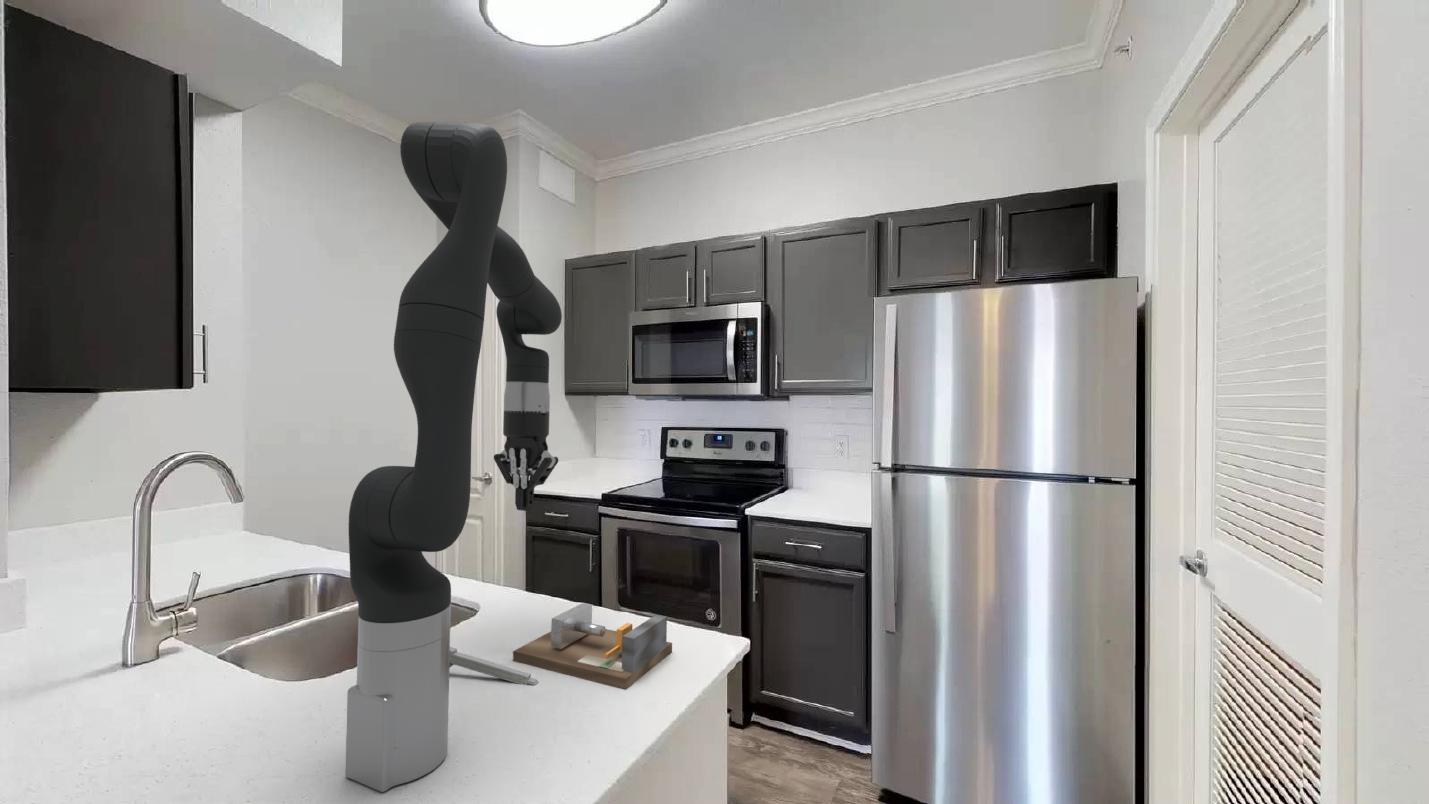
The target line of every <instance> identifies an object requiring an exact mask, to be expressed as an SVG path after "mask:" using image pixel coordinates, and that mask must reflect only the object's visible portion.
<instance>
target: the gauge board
mask: <svg viewBox="0 0 1429 804" xmlns="http://www.w3.org/2000/svg"><path fill="white" fill-rule="evenodd" d="M667 620H668V617H667V615H666V616H665V615H661V614H654V615H653V616H652V617H650V618H648V619H647V620H646V621H644V622H643V623H640V625H638V626H635V628H632V630H631V631H630V632H628V633H627V634H625V635H624V636H622V650H619V651H617V652H616V653H615V654H613V655H612V656H610V657H609V658H607V659H606V658H605V654H606V653H607V652H609V651H610V650H612V649H613V648H615V647H616V636H617V630H613V629H607V628H605V634H604V635H603V636H602V637H600V636H596V635H591V634H586V635H584V636H583V637H581V638H579V639H578V640H576V641H574V642H572V643H571V644H569V645H567V646H565V647H564V648H562V649H559V648H555V647H551V631H549V632H547V633H545V634H543V635H541V636H539V637H537V638H535V639H533V640H531V641H529V642H527V643H526V644H524V645H522V646H520V647H518V648H517V649H514V650H513V651H512V661H514V662H517V663H521V664H525V665H529V666H533V667H537V668H541V669H544V670H548V671H552V672H557V673H560V674H563V675H569V676H571V677H572V676H573V677H576V678H580V679H584V680H586V681H587V680H588V681H592V682H594V683H600V684H604V685H606V686H607V685H608V686H610V687H611V686H612V687H616V688H620V689H623V690H627V689H628V688H629V687H631V686H632V685H633V684H634V683H636V682H637V681H638V680H639V679H641V678H642V677H643V676H644V675H645V674H647V673H648V672H650V671H651V669H653V668H654V667H655V666H657V665H658V664H659V663H660V662H661V661H662V660H664V659H665V658H666V657H668V656H669V655H670V654H672V653H673V643H672V642H670V641H667V634H668V633H667V632H668V631H667V629H668V628H667V626H668V625H667V624H668V621H667Z"/></svg>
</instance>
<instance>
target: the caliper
mask: <svg viewBox="0 0 1429 804" xmlns="http://www.w3.org/2000/svg"><path fill="white" fill-rule="evenodd" d="M453 666H457V667H460V668H461V667H462V668H463V669H464V668H465V669H468V670H471V671H474V672H478V673H481V674H485V675H487V676H491V677H494V678H497V679H500V680H503V681H505V682H509V683H514V684H516V685H531V686H536V685H537V684H538V683H539V680H538V679H537V678H534V677H532V674H531V673H530V672H526V671H524V670H523V671H522V670H520V669H517V668H513V667H509V666H507V665H502V664H500V663H495V662H493V661H489V660H486V659H482V658H480V657H476V656H473V655H469V654H466V653H463V652H461V651H460V652H459V651H458V648H455V647H452V646H450V659H449V669H450V668H452V667H453Z"/></svg>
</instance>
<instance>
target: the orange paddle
mask: <svg viewBox="0 0 1429 804" xmlns="http://www.w3.org/2000/svg"><path fill="white" fill-rule="evenodd" d="M631 630H633V623H630V622H626V623H624V624H622V625H621V626H620V627H617V629H616V631H617V636H616V647H615V648H613V649H612V650H610V651H609V652H607V653H606V654H605V658H606V659H607V658H609V657H610V656H612V655H613V654H615V653H616V652H617V651H619V650H622V636H624V635H625V634H627V633H628V632H630V631H631Z"/></svg>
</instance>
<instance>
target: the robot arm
mask: <svg viewBox="0 0 1429 804" xmlns="http://www.w3.org/2000/svg"><path fill="white" fill-rule="evenodd" d="M399 150H400V152H399V153H400V159H401V160H400V161H401V164H402V168H403V170H404V173H405V176H406V177H407V179H408V181H409V184H410V185H411V186H412V188H413V190H415V192H416V193H417V195H418V196H419V197H420V199H421V200H422V201H423V202H424V203H425V204H426V206H427V207H428V208H429V209H430V211H431V212H432V213H433V214H434V215H435V216H436V217H437V219H438V220H439V221H440V222H441V223H442V225H443V226H444V227H445V228H446V229H447V230H448V231H447V232H446V233H445V235H444V237H443V238H442V239H441V241H440V242H439V243H438V245H437V246H436V247H435V249H434V250H433V251H432V252H430V254H429V255H428V256H427V257H426V258H425V260H424V261H422V262H421V264H420V265H419V266H418V268H416V270H415V271H414V273H413V274H412V275H411V276H410V278H409V279H408V281H407V283H406V284H405V286H404V287H403V290H402V291H401V295H400V297H399V302H398V303H399V304H398V309H397V318H396V323H395V324H396V325H395V328H394V329H395V330H394V337H393V352H394V354H393V355H394V359H395V363H396V365H397V368H398V371H399V374H400V376H401V379H402V381H403V383H404V386H405V388H406V390H407V392H408V395H409V397H410V399H411V402H412V405H413V408H414V411H415V415H416V423H417V440H416V441H417V442H416V443H417V444H416V450H415V451H416V453H415V460H414V466H407V465H405V466H403V465H386V466H380V467H377V468H375V469H372V470H371V471H369V472H368V473H366V475H364V476H363V477H362V479H361V480H360V481H359V482H358V484H357V485H356V488H355V490H354V491H353V495H352V497H351V501H350V505H349V506H350V507H349V512H348V550H349V553H348V554H349V577H350V580H349V581H350V585H351V589H352V592H353V594H354V596H355V598H356V601H357V604H358V613H357V614H358V618H357V619H358V620H357V621H358V623H357V626H358V628H357V650H356V651H357V654H356V655H357V659H356V662H357V663H356V684H354V685H353V686H351V687H349V688H348V690H347V696H346V697H347V698H346V702H347V703H346V734H345V735H346V736H345V737H346V739H345V741H346V742H345V777H346V778H349V779H351V780H353V781H356V782H357V783H360V784H362V785H365V786H367V787H369V788H371V789H374V790H377V791H378V792H381V793H383V792H386V791H388V790H389V789H391V788H392V787H395V786H399V785H402V784H406V783H409V782H412V781H414V780H416V779H419V778H422V777H423V776H426V775H427V774H428V773H430V772H432V771H433V770H435V769H437V767H438V766H440V765H441V763H442V762H443V761H444V760H445V758H446V757H447V754H448V745H449V743H448V741H449V740H448V738H449V737H448V735H449V701H450V700H449V696H450V695H449V694H450V668H449V659H450V647H451V619H452V618H451V615H452V614H451V613H452V612H451V611H452V603H451V601H452V584H451V582H450V580H449V577H447V576H446V575H445V574H444V573H443V572H441V571H439V570H438V569H437V568H435V567H434V566H433V565H431V563H429V562H428V560H427V559H426V558H425V556H424V554H423V553H435V552H437V553H439V552H441V551H444V550H446V549H448V548H449V547H451V546H452V545H454V543H455V542H456V541H457V540H458V538H459V537H460V535H461V533H462V531H463V530H464V527H465V524H466V523H467V517H468V513H469V510H470V509H469V508H470V501H471V483H472V482H471V481H472V480H471V479H472V473H471V472H472V429H473V427H472V426H473V413H474V404H475V403H474V401H475V393H476V381H477V374H478V365H479V359H480V354H481V353H480V352H481V348H482V342H483V341H482V340H483V331H484V324H485V315H486V314H485V313H486V312H485V311H486V300H487V289H488V286H489V288H490V289H491V292H492V294H493V295H494V296H495V298H496V299H498V300H499V301H498V303H497V306H496V310H495V311H496V319H497V323H498V327H499V331H500V334H501V338H502V342H503V347H504V351H505V352H504V353H505V358H506V360H505V361H506V365H505V366H506V369H505V370H506V371H505V372H506V375H505V389H504V394H503V418H502V419H503V421H502V422H503V427H502V428H503V429H502V434H503V436H505V437H506V441H505V443H504V446H503V450H502V451H501V452H500V453H495V454H494V455H493V459H494V462H495V464H496V466H497V467H498V470H499V471H500V473H501V475H502V477H503V479H504V480H505V482H506V484H510V485H512V486H513V487H514V489H515V494H514V495H515V496H514V499H515V500H514V504H515V507H516V510H517V511H523V512H525V511H526V512H527V511H531V510H532V508H533V506H534V501H535V499H534V498H535V497H534V496H535V488H536V487H537V486H540V485H542V486H543V485H544V484H545V483H546V482H547V480H548V478H549V476H550V475H551V473H552V472H553V471H554V469H555V467H556V466H557V465H558V463H559V457H558V456H553V455H551V453H550V452H549V446H548V443H547V437H548V436H549V435H550V404H551V403H550V402H551V401H550V400H551V399H550V398H551V397H550V396H551V395H550V388H549V387H550V385H549V381H550V355H549V354H548V352H547V351H545V350H544V349H541V348H537V347H533V346H528V345H526V344H525V341H524V340H523V335H537V336H538V335H539V336H543V335H544V336H545V335H550V334H551V335H552V334H554V333H555V332H556V331H558V329H559V328H560V326H561V324H562V319H563V318H562V317H563V316H562V308H561V306H560V303H559V302H558V299H557V298H556V296H555V294H554V293H553V292H552V291H551V290H550V289H549V288H548V287H547V286H546V285H545V284H544V282H542V281H541V280H540V278H538V277H537V276H536V275H535V273H534V271H533V269H532V266H531V264H530V262H529V259H528V258H527V256H526V253H525V252H524V250H523V248H522V247H521V246H520V244H519V243H518V242H517V241H516V240H515V238H513V237H512V236H511V235H510V234H508V232H507V231H505V230H504V229H502V227H500V226H499V225H498V224H499V220H500V216H501V211H502V208H503V207H502V206H503V203H504V196H505V191H506V186H507V185H506V184H507V180H508V179H507V178H508V158H507V150H506V146H505V142H504V140H503V138H502V136H501V135H500V133H499V132H498V131H497V130H496V128H494V127H492V126H490V125H488V124H483V123H479V122H477V123H476V122H465V121H464V122H457V121H454V122H453V121H452V122H451V121H429V120H428V121H427V120H426V121H418V122H413V123H411V124H409V125H408V126H407V127H405V130H404V131H403V133H402V136H401V139H400V149H399Z"/></svg>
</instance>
